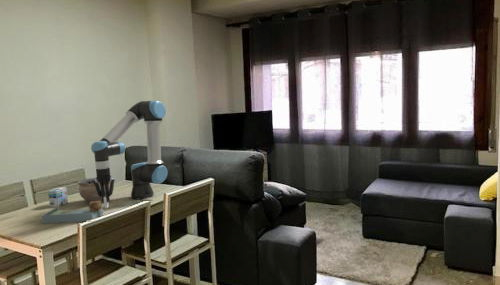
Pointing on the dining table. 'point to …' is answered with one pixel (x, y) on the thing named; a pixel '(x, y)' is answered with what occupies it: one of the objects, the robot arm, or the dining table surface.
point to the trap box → (70, 216)
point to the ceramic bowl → (90, 190)
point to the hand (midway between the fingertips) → (106, 207)
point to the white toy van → (58, 196)
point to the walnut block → (95, 206)
